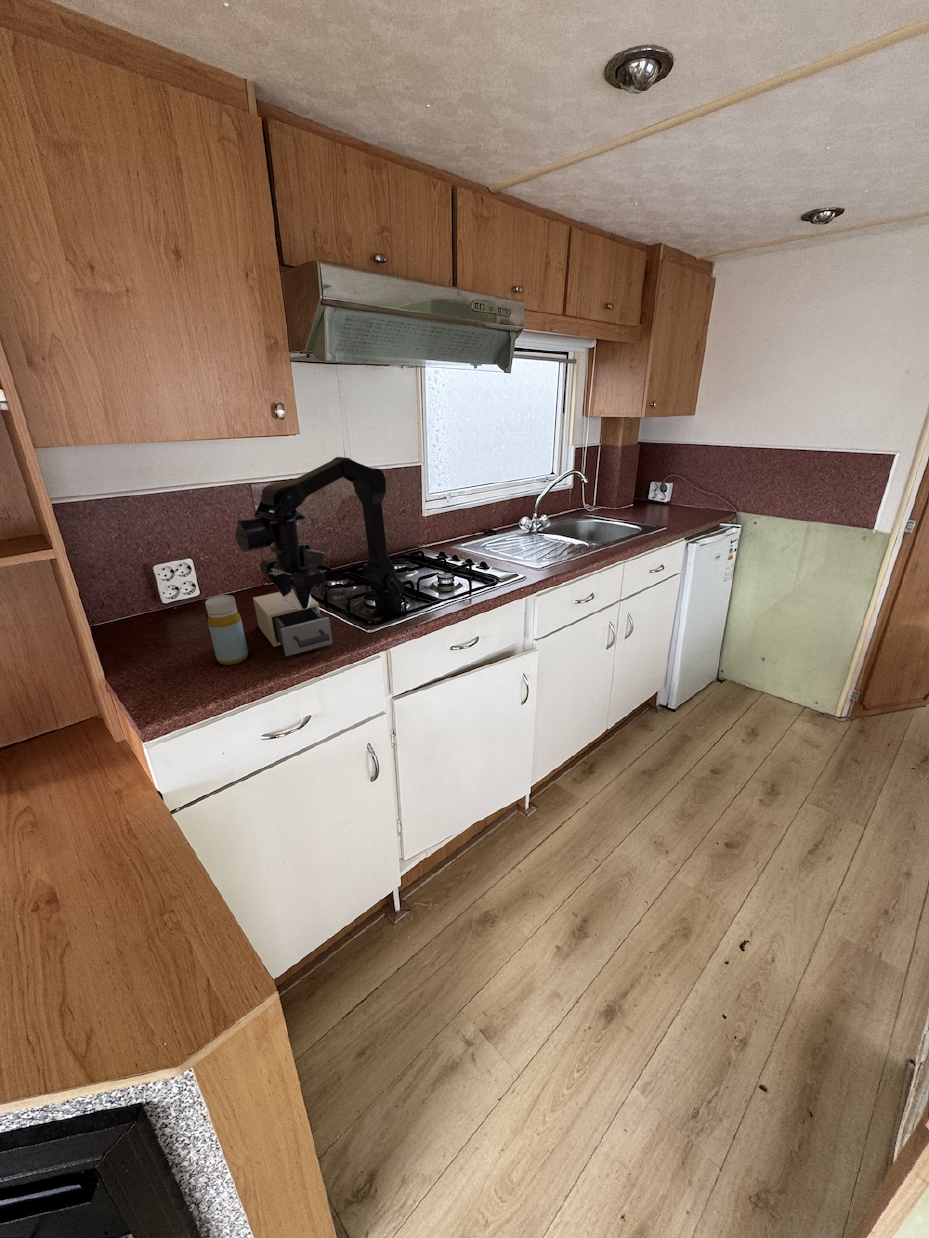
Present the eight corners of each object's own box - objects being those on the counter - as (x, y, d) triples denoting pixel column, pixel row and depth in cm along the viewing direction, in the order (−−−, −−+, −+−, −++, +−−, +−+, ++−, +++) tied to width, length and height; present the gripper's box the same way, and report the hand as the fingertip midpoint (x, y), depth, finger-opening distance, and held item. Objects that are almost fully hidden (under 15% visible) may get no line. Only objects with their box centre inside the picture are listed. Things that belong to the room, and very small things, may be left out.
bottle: (238, 666, 123) (224, 606, 117) (211, 664, 125) (196, 605, 119) (254, 653, 129) (242, 595, 124) (228, 651, 131) (215, 593, 125)
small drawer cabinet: (323, 634, 139) (318, 603, 135) (273, 647, 132) (267, 615, 129) (305, 616, 150) (300, 587, 146) (258, 627, 144) (252, 597, 140)
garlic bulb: (291, 603, 132) (287, 582, 130) (313, 605, 131) (310, 584, 129) (279, 612, 127) (275, 590, 125) (302, 613, 126) (298, 592, 124)
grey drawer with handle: (340, 651, 127) (337, 625, 124) (293, 665, 121) (288, 638, 119) (314, 625, 141) (310, 601, 139) (270, 636, 136) (266, 612, 133)
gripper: (340, 540, 122) (348, 604, 128) (295, 528, 133) (304, 587, 140) (296, 551, 114) (307, 618, 120) (253, 538, 126) (265, 600, 132)
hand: (297, 605), depth 128 cm, fingers closed on garlic bulb, 7 cm apart
